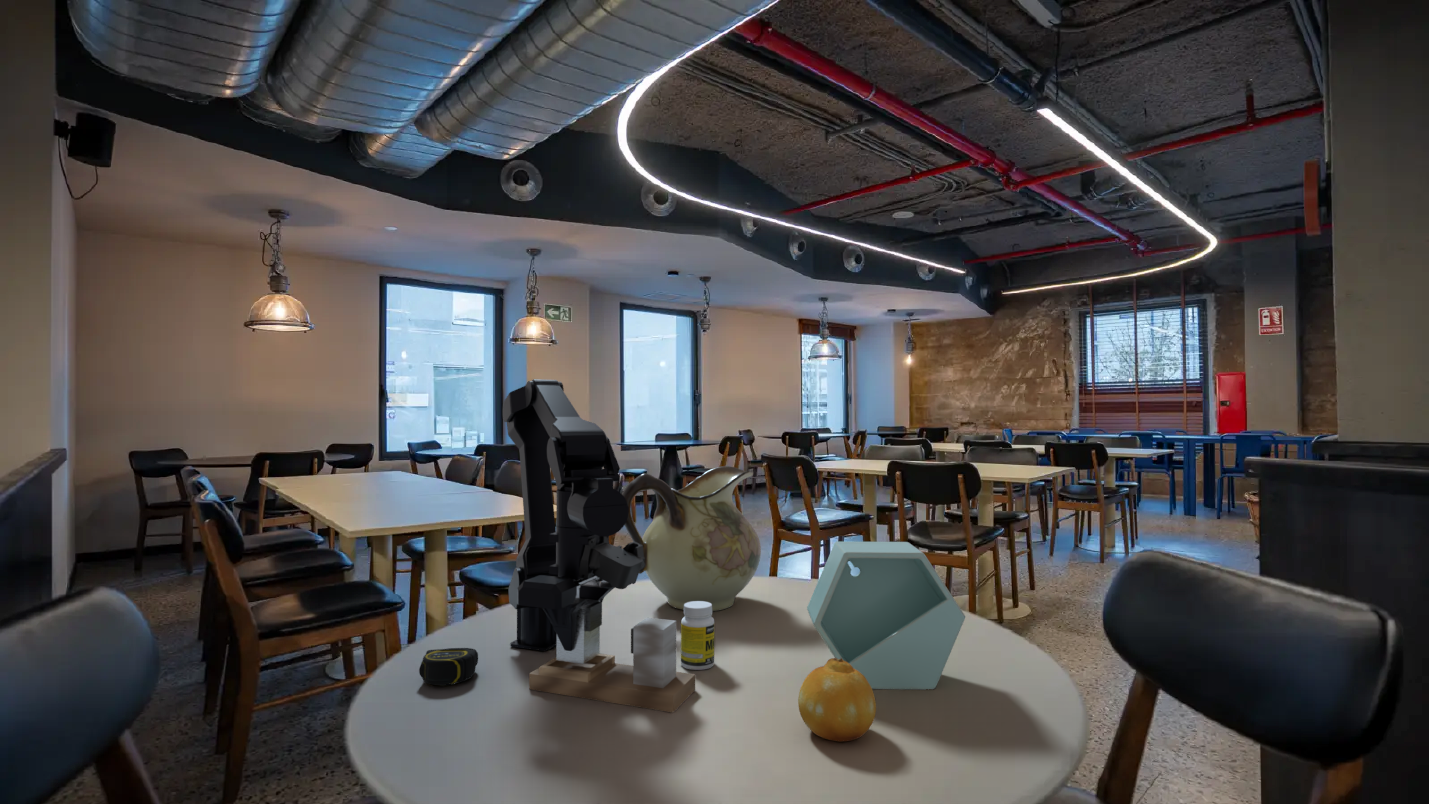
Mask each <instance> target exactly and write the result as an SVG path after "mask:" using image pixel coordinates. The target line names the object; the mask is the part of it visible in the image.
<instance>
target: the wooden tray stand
mask: <svg viewBox="0 0 1429 804" xmlns="http://www.w3.org/2000/svg"><path fill="white" fill-rule="evenodd" d="M630 654H633V663H632V664H633V665H632V664H624V663H616V655H614V654H613V655H612V654H605V653H600V654H598V655H597V656H595V657H594V658H592V659H591V660H589V661H588V662H586V663H585V664H579V663H572V662H565V661H558V660H556V657H554V658H552V659H550V660H549V661H547V662H545V663H544V664H542V665H541V666H539V667H537V668H536V669H534V670H533V671H531V672H529V673H528V674H529V676H528V680H529V681H528V689H529V690H532V691H538V692H544V693H550V694H555V695H556V694H557V695H563V696H567V697H568V696H569V697H575V698H582V699H588V700H594V701H600V702H607V703H611V704H618V705H623V706H629V707H630V706H631V707H637V708H642V709H648V710H655V711H660V712H661V711H662V712H668V713H675V711H677V709H679V707H681V705H682V704H683V703H685V701H686V700H687V699H688V698H689V697H690V696H691V695H693V694H694V692H695V691H696V674H695V673H688V672H680V671H677V620H673V619H664V618H656V617H654V618H653V617H645V618H644V619H643V620H641V621H640V622H639V623H636V624H635V625H633V626H632V628H630Z"/></svg>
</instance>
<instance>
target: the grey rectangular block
mask: <svg viewBox="0 0 1429 804" xmlns="http://www.w3.org/2000/svg"><path fill="white" fill-rule="evenodd" d="M602 625H603V601H602V602H600V600H591V599H587V601H586V602H585V603H584V604H583V605H582V607H581V608H580V609H579V610H578V615H577V625H576V634H575V642H574V648H573V650H572V651H566V650H564V648H563V646H562V644H561V642H560V640H559V638H558V636H557V645H556V660H558V661H565V662H572V663H579V664H585V663H586V662H588V661H589V660H591V659H592V658H594V657H595V656H597V655H598V654H601V653H600V651H601V650H600V649H601V647H600V641H601V639H600V637H601V633H600V632H601V631H600V630H601V626H602Z"/></svg>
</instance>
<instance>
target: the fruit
mask: <svg viewBox="0 0 1429 804" xmlns="http://www.w3.org/2000/svg"><path fill="white" fill-rule="evenodd" d="M875 698H876V697H875V694H874V689H872V688H871V686H870V684H869V683H868V681H867V679H866V678H865V677H864V675H862V674H861V673H860V672H859V671H858V670H856V669H854V668H853V667H852V666H851V665H850V664H849V663H848V662H846V661H844V660H842V658H841V659H837V658H835V657H834V658H830V659H828V660H827V661H826V663H825V664H824V665H823V666H818V667H816V668H814V669H813V670H812V671H811V672H809V673H808V674H807V676H806V677H805V679H804V680H803V682H802V684H801V687H800V689H799V693H798V699H797V700H798V701H797V702H798V705H797V707H798V711H799V714H800V717H801V718H802V721H803V723H804V724H805V726H806V727H807V728H808V729H809V730H810V731H811V732H812V733H813V734H815V735H816V736H817V737H820V738H822V739H825V740H829V741H834V742H850V741H854V740H857V739H859V738H860V737H862V736H863V735H865V734H866V733H867V732H868V731H869V730H870V728H871V727H872V725H873V723H874V720H875V718H876V713H877V705H876V703H877V702H876V699H875Z"/></svg>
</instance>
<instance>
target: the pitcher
mask: <svg viewBox="0 0 1429 804" xmlns="http://www.w3.org/2000/svg"><path fill="white" fill-rule="evenodd" d="M753 475H754V471H753V470H752V469H748V470H746V471H745V470H743V469H740V468H738V467H734V466H728V465H727V466H726V465H725V466H724V465H723V466H718V467H715V468H711V469H709V470H707V471H705V472H704V473H702V475H699V476H697V477H696V478H695V479H694V480H693V481H691V482H690V483H689V484H687V485H686V486H685V487H684V486H683V488H680V489H678V490H677V489H675V488H674V487H673V488H672V487H670V485H668V483H666V482H665V481H664V480H662V479H660V478H658V477H655V476H654V475H652V474H650V473H645V472H644V473H642V474H640V475H638V476H636V478H634V479H633V480H631V481H630V482H629V483H628V484H627V486H626V487H625V488H624V490H623V491H622V493H621V494H622V495H623V496H624V498H625V499H626V502H627V505H628V507H629V514H628V518H627V521H626V523H625V525H624V528H625V530H626V531H627V532H628V535H629V536H630V538H631V540H632V542H637V543H639V544H641V545H643V553H644V557H645V560H644V563H645V568H643V569H641V570H640V571H639V574H643V573H644V572H645V574H646V575H647V577H648V579H649V580H650V581H651V583H652V584H653V585H654V587H655V588H656V589H657V590H659V591H660V593H662V594H663V595H664V596H665V597H666V599H667V603H668V605H670V607H673V608H674V609H679V610H682V611H684V604H685V603H687V602H692V601H705V602H709V603H711V604H712V612H718V611H723V610H725V609H728V608H731V607H732V606H734V604H735V600H736V599H735V598H736V596H737V595H739V594H740V593H741V592H742V591H743V590H744V589H745V587H747V586H748V584H749V583H750V582H751V580H752V579H753V577H754V576H755V574H756V572H757V570H758V567H759V564H760V561H761V556H762V550H761V549H762V548H761V541H760V538H759V534H758V533H757V531H756V529H755V528H754V527H753V524H751V522H750V521H749V520H748V519H747V518H746V516H745V515H744V514H743V513H742V512H741V511H740V510H739V509H738V508H737V506H736V505H735V503H734V501H733V493H734V490H735V488H736V486H737V485H738V484H739V483H741V481H743V480H745V479H747V478H750V477H752V476H753ZM649 490H652V491H653V492H654V494H655V498H656V509H655V511H654V515H653V519H652V522H651V523H650V524H649V525H648V527H647V528H646V530H645V531H644V534H643V535H642V536H641V534H640V532H639V531H638V528H637V527H636V524H635V522H634V519H633V517H632V511H631V509H632V508H631V505H632V502H633V499H634V498H635V496H637V494H638V493H641V492H643V491H644V492H645V491H649ZM639 574H638V575H639Z"/></svg>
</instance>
